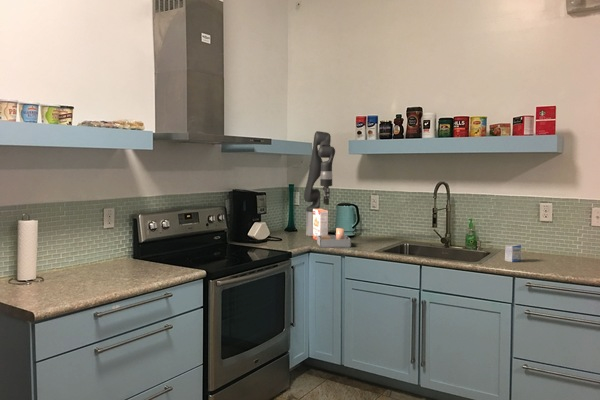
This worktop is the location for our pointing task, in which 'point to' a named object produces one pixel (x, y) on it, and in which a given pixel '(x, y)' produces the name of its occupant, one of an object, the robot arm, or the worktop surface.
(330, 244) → the tote
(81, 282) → the worktop surface
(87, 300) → the worktop surface
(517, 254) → the medicine box
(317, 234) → the cracker box
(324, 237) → the walnut block
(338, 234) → the spice jar
